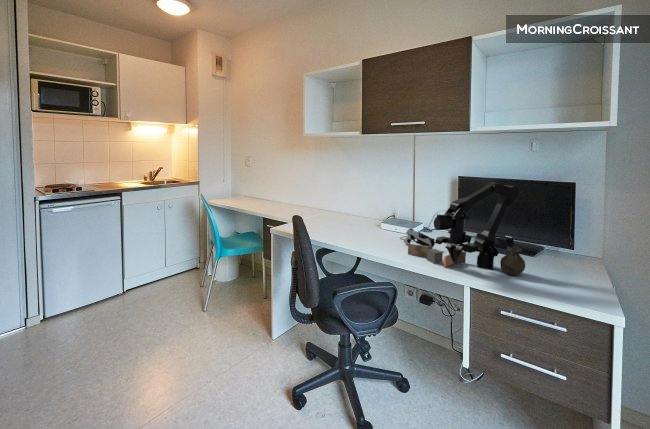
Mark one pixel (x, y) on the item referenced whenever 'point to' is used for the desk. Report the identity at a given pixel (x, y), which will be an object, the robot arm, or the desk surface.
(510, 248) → the drawstring pouch
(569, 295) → the desk surface
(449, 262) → the door
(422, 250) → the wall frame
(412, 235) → the toy gun
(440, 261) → the block
